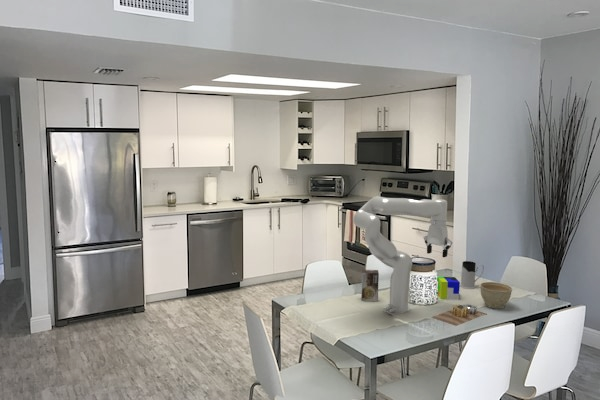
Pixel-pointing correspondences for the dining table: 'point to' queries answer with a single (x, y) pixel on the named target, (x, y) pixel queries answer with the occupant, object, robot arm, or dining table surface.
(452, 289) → the puzzle toy
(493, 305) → the planter bowl
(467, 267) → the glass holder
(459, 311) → the brass gear
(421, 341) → the dining table surface
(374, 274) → the coffee box
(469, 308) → the steel gear
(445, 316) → the gear board
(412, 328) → the dining table surface
